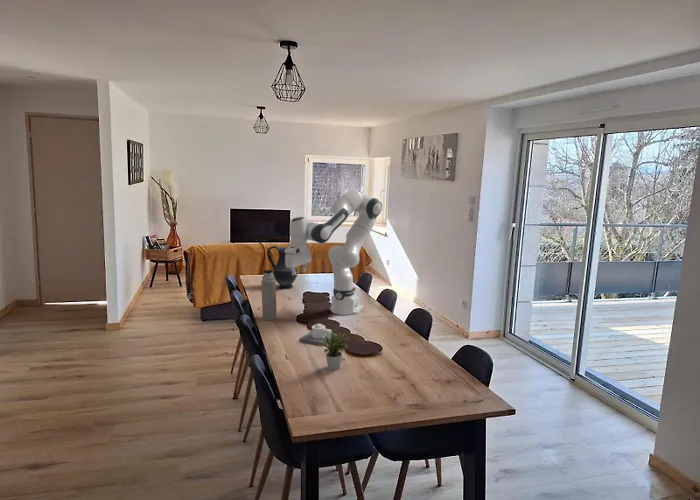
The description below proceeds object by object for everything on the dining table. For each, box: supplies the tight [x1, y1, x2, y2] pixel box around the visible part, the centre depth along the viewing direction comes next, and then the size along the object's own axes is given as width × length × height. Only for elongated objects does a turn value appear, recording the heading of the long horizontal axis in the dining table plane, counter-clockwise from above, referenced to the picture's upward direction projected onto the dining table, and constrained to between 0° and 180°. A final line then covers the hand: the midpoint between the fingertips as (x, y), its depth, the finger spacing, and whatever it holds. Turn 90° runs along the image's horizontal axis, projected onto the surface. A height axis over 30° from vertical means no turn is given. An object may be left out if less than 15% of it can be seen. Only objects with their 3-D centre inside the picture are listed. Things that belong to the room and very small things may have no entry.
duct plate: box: [298, 323, 339, 347], centre depth 244 cm, size 14×14×8 cm
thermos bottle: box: [260, 269, 278, 321], centre depth 275 cm, size 8×8×28 cm
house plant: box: [320, 330, 349, 371], centre depth 208 cm, size 14×14×16 cm
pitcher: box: [266, 245, 298, 290], centre depth 343 cm, size 17×21×30 cm
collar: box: [311, 324, 332, 339], centre depth 243 cm, size 10×6×5 cm, turn 63°
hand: (299, 273), depth 260 cm, fingers open, 8 cm apart
